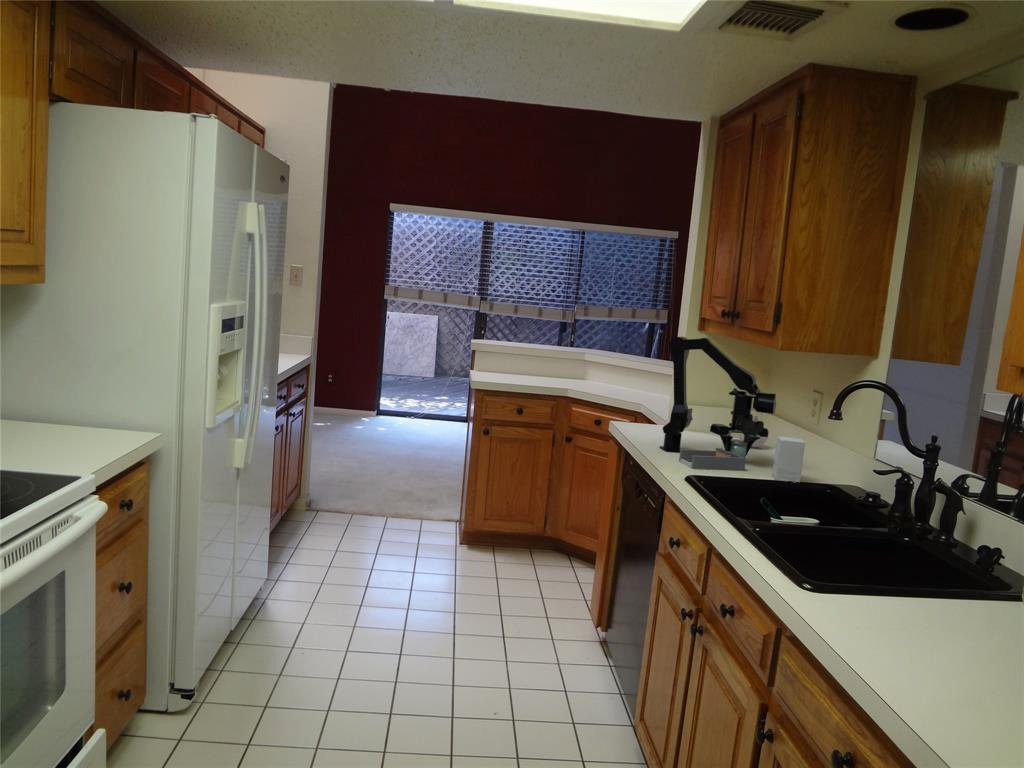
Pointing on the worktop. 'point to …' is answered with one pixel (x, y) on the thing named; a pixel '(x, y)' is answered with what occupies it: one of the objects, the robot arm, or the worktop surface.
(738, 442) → the jar
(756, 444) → the ornament
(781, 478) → the supplement box
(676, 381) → the robot arm
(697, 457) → the gray tray
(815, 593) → the worktop surface
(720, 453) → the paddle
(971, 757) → the worktop surface
